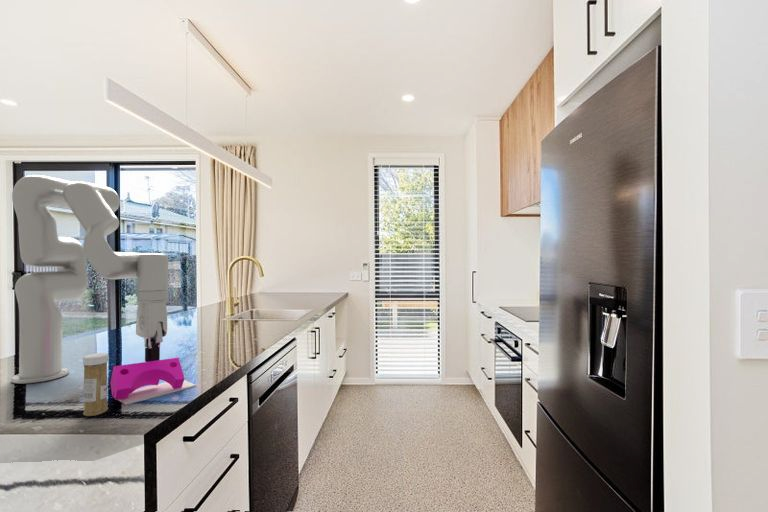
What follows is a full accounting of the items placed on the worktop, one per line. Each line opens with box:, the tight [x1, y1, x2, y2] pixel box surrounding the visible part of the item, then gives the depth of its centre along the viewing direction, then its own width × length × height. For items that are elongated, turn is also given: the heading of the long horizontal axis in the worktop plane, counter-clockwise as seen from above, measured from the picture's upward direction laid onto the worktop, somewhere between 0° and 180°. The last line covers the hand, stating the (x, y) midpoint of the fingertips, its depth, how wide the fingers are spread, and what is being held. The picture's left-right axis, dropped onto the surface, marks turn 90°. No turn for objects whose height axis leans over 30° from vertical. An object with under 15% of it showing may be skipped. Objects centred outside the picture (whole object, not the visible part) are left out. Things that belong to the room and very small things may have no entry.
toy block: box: [109, 357, 186, 401], centre depth 100 cm, size 15×6×8 cm
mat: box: [113, 379, 197, 406], centre depth 101 cm, size 9×17×1 cm, turn 142°
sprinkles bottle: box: [82, 352, 109, 417], centre depth 87 cm, size 5×5×14 cm
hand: (152, 361), depth 106 cm, fingers closed
